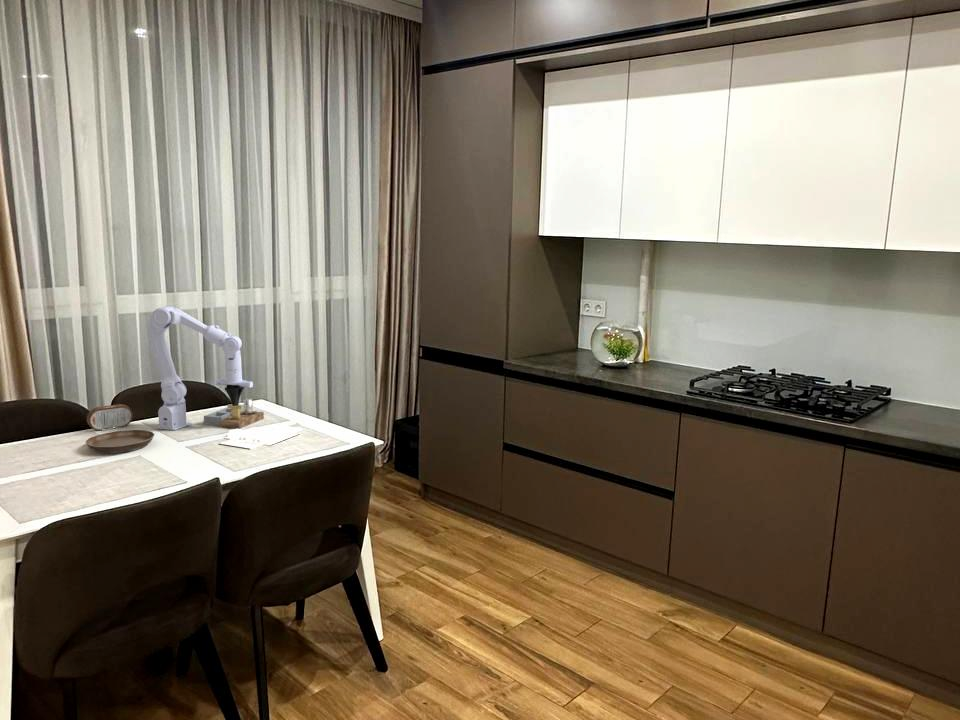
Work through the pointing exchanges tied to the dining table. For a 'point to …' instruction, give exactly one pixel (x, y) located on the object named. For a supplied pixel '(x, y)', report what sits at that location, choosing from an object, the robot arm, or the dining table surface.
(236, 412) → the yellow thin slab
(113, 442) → the plant saucer
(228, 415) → the rack
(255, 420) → the drill block
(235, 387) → the robot arm
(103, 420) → the tin
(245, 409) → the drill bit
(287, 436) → the white book
